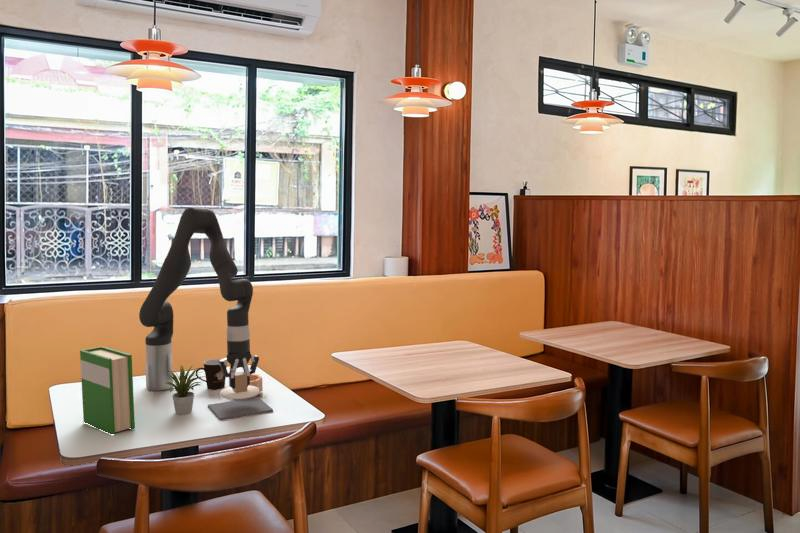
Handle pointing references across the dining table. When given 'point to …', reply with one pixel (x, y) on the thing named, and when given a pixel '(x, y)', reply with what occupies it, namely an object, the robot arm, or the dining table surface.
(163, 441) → the dining table surface
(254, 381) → the bowl
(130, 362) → the hardback book
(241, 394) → the lid
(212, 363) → the coffee mug
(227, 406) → the mat
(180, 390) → the house plant
